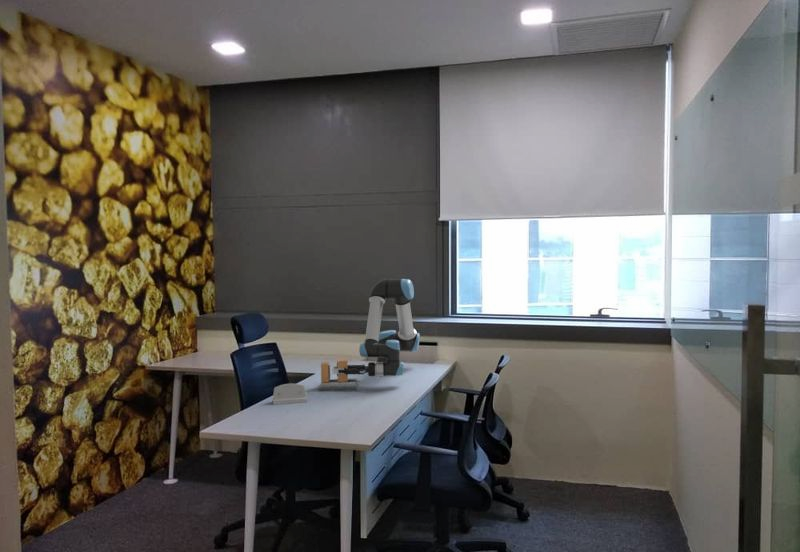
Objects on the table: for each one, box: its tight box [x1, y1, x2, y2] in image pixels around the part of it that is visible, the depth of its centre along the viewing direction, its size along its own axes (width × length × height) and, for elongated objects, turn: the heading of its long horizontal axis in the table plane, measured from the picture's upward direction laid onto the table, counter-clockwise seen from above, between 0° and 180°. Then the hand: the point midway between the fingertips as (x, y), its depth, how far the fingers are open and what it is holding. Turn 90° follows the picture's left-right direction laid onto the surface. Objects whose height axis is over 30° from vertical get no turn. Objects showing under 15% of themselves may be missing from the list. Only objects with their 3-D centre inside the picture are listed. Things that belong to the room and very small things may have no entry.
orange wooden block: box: [336, 358, 349, 382], centre depth 312 cm, size 5×6×12 cm
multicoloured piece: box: [318, 361, 359, 392], centre depth 312 cm, size 14×20×14 cm
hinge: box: [272, 383, 308, 406], centre depth 286 cm, size 17×5×10 cm, turn 101°
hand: (333, 369), depth 312 cm, fingers closed on orange wooden block, 5 cm apart
